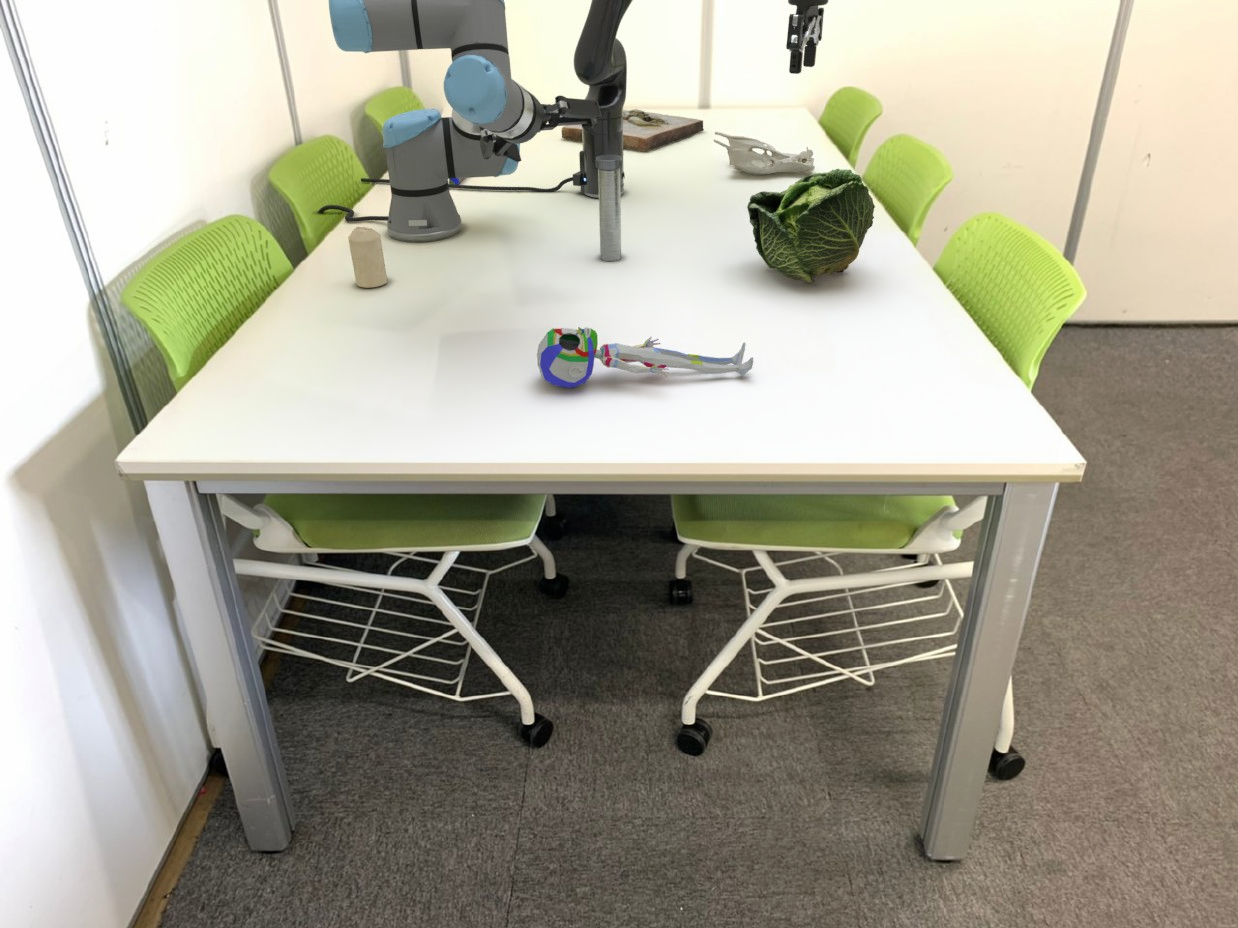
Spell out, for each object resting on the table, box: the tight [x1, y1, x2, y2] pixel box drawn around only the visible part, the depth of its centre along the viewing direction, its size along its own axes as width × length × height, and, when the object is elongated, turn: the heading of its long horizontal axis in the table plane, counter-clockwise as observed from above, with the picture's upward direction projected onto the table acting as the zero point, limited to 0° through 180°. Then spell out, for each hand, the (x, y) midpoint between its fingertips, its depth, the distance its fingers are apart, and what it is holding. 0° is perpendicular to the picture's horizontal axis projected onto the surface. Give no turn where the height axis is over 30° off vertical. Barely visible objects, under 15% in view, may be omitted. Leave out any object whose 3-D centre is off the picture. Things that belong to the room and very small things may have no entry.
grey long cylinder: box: [598, 168, 622, 262], centre depth 167 cm, size 4×4×18 cm
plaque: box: [561, 108, 705, 152], centre depth 257 cm, size 30×7×30 cm
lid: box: [596, 154, 622, 170], centre depth 162 cm, size 5×5×2 cm
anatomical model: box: [713, 131, 815, 176], centre depth 221 cm, size 15×9×25 cm
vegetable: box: [746, 168, 876, 284], centre depth 158 cm, size 20×19×20 cm
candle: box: [347, 226, 388, 289], centre depth 159 cm, size 6×6×10 cm
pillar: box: [448, 178, 465, 185], centre depth 225 cm, size 2×2×20 cm
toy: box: [536, 326, 754, 389], centre depth 127 cm, size 10×8×30 cm
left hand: (554, 140), depth 148 cm, fingers open, 13 cm apart
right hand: (802, 70), depth 176 cm, fingers open, 8 cm apart
